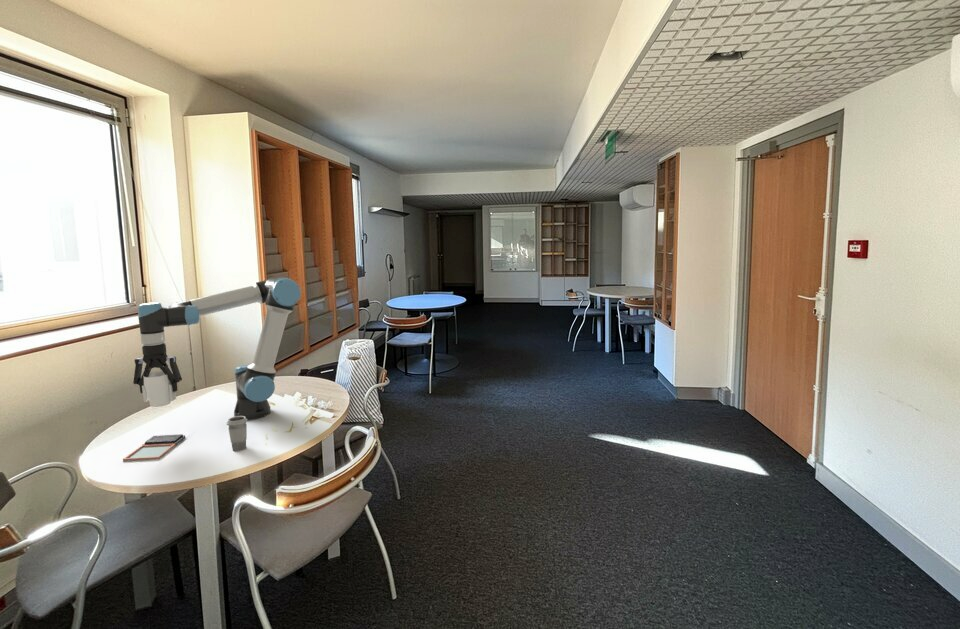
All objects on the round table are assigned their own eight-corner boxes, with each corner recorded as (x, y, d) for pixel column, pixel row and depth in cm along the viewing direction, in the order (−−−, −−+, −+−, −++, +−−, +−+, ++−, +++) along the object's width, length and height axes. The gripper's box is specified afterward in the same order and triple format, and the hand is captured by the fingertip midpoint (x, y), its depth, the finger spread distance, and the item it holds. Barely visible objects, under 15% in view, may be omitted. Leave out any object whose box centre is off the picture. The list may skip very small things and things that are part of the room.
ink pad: (185, 438, 192) (185, 433, 192) (176, 445, 185) (175, 441, 185) (153, 439, 191) (152, 435, 191) (142, 447, 183) (142, 443, 183)
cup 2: (235, 454, 177) (232, 423, 175) (225, 450, 181) (222, 419, 179) (253, 447, 183) (251, 417, 181) (243, 443, 187) (240, 414, 185)
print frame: (175, 445, 185) (175, 443, 185) (159, 459, 173) (158, 457, 173) (142, 447, 183) (142, 445, 183) (123, 461, 171) (122, 459, 171)
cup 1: (160, 408, 180) (157, 377, 178) (140, 407, 182) (136, 376, 180) (179, 401, 189) (176, 371, 187) (160, 399, 191) (157, 370, 189)
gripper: (188, 340, 187) (194, 396, 190) (128, 342, 184) (135, 398, 188) (179, 344, 180) (185, 402, 183) (116, 346, 177) (124, 405, 180)
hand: (160, 400), depth 185 cm, fingers closed on cup 1, 9 cm apart
